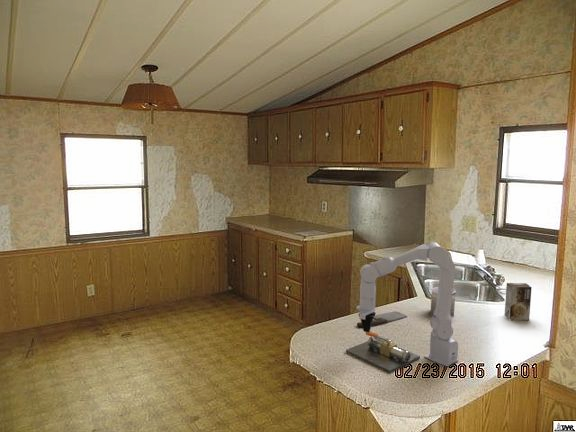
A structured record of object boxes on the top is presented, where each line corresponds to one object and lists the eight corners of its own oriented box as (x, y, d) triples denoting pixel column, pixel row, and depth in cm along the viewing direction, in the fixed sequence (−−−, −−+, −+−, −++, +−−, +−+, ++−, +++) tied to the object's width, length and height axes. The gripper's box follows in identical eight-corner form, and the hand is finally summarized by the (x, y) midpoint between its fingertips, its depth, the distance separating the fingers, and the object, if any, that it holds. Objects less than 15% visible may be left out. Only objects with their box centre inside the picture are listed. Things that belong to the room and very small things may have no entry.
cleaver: (364, 330, 190) (364, 326, 190) (349, 323, 198) (349, 319, 198) (409, 317, 207) (409, 313, 206) (393, 311, 215) (393, 307, 214)
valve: (419, 358, 164) (420, 344, 163) (389, 373, 152) (390, 358, 152) (376, 340, 180) (376, 327, 179) (345, 352, 168) (346, 338, 168)
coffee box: (523, 315, 209) (526, 283, 207) (529, 320, 203) (532, 287, 201) (503, 314, 210) (506, 282, 208) (509, 319, 204) (511, 286, 201)
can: (458, 317, 206) (459, 293, 204) (434, 317, 206) (435, 293, 204) (449, 309, 217) (451, 286, 215) (426, 309, 217) (428, 285, 215)
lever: (392, 342, 164) (392, 339, 164) (389, 344, 163) (389, 341, 163) (368, 333, 173) (368, 330, 173) (365, 334, 172) (365, 331, 171)
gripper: (362, 290, 172) (361, 322, 173) (351, 300, 159) (350, 336, 160) (380, 292, 169) (379, 325, 170) (370, 303, 156) (369, 339, 157)
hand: (366, 331), depth 165 cm, fingers closed
